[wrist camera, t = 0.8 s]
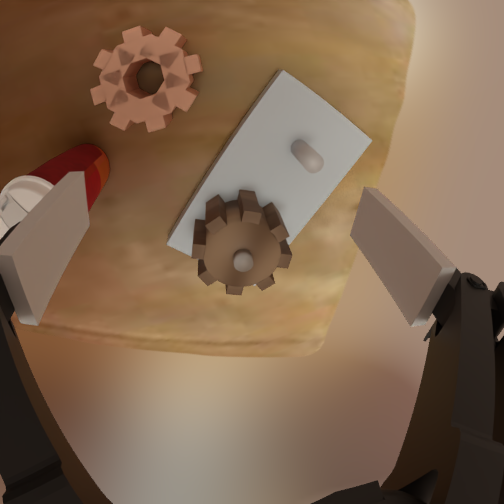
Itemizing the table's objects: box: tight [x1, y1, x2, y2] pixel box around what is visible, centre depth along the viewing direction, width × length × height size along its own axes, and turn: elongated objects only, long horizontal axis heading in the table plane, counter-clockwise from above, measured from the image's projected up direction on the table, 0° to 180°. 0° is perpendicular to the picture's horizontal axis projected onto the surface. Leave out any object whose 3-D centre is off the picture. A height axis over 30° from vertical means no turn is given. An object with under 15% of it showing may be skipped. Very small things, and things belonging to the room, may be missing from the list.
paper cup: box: [0, 144, 110, 239], centre depth 24 cm, size 8×8×14 cm
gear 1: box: [90, 26, 203, 133], centre depth 24 cm, size 10×10×5 cm
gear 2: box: [191, 189, 292, 295], centre depth 32 cm, size 10×10×6 cm
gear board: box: [166, 70, 372, 286], centre depth 31 cm, size 12×22×7 cm, turn 145°
